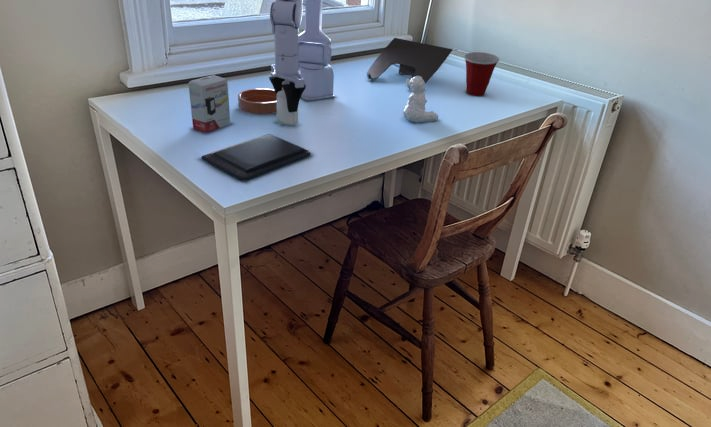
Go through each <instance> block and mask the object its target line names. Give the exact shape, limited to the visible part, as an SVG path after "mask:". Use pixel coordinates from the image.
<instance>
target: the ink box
mask: <svg viewBox="0 0 711 427" xmlns="http://www.w3.org/2000/svg"><path fill="white" fill-rule="evenodd" d="M228 83H229V81H228V79H227V78H225V77H221V76H219V75H218V76H217V75H215V74H213V75H208V76H204V77H200V78H197V79H192V80H190V81H189V82H188V93H189V102H190V111H191V120H192V122H191V123H192V129H193V130H196V131H199V132H202V133H206V134H208V133H210V132H214V131H216V130H218V129H221V128H224V127H226V126H229V125H231V113H230V112H231V110H230V98H229V96H230V95H229V84H228Z"/></svg>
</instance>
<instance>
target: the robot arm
mask: <svg viewBox="0 0 711 427" xmlns="http://www.w3.org/2000/svg"><path fill="white" fill-rule="evenodd" d="M303 3H304V5H305V7H304V6H303ZM304 8H305V9H304ZM303 11H304V31H303V32H301V33H299V32H300V30H299V28H300V27H301V25H302V20H303ZM269 19H270V24H271V31H272V35H274V36H273V37H274V39H273V40H274V64H271V65H270V71H271V72H270V76H269V77H268V80H269V81H270V83H271V85H272V87H273V90H275V94H276V95H277V93H278V92H279V91H281V90H282V87H283V90H284V92H285V95H286V100H287V108H288V111H289V112H297V109H298V110H299V105H300V101H301V98H302V99H303V100H305V101H309V102H310V101H315V100H323V99H331V98H335V95H334V82H335V81H334V80H335V74H334V70H333V68H332V66H331V65H330V64H331V60H332V41H331V38H330V37H329V36H328V35H327V34H326V33H325V32H324V31H323V29H322V28H323V0H305V2H304V0H275V1H273V2H272V3H271V5H270V8H269ZM299 67H300V68H299ZM299 69H300V71H299ZM285 79H286V80H287V81H289V82H290V84H284V85H282V82H283V81H285Z"/></svg>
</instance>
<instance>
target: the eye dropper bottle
mask: <svg viewBox="0 0 711 427" xmlns="http://www.w3.org/2000/svg"><path fill="white" fill-rule="evenodd" d="M284 84H290V82H289V81H287V80H286V79H285V81H283V82H282V85H284ZM276 101H277V113H276V121H277V123H279V124H282V125H284V126H295V125H298V123H299V108H298V109H297V112H289V111H288V108H287V100H286V95H285V92H284V90H283V87H282V90H281V91H279V92H278V93H277V95H276Z"/></svg>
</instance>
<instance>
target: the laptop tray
mask: <svg viewBox="0 0 711 427" xmlns="http://www.w3.org/2000/svg"><path fill="white" fill-rule="evenodd" d="M453 51H454V49H453V48H448V47H445V46H444V47H443V46H438V45H432V44H428V43H424V42H418V41H412V40H408V39H404V38H398V37H393V39H392V40H391V41H390V42H389V43H388V44H387V46H386V47H385V48H384V49H383V50H382V51H381V53H380V54H379V55H378V56H377V57H376V59H375V60H374V61H373V63H372V64H371V65H370V67H369V69H368V70H367V72H366V76H367V78H368V81H370V82H372V81H373V80H377V79H378V78H379V77H381V76H382V75H383V74H384V73H385V72H386V71H387V70H388V69H389V68H390V67H391V66H393V65H399V67H398V74H399V75H400V76H410V80H411V79H412V78H413V77H416V76H421V77H422V79H423V80H424V82H425V84H426V83H427V82H429V80H430V79H431V78H432V77H433V76H434V75H435V74H436V73H437V71H438V70H439V69H440V68H441V67H442V65H443V64H444V63H445V61H446V60H447V58H449V56H450V55H451V53H452V52H453ZM408 86H409V85H408V84H407V88H408V89H409V91H410V92H412V91H411V89H410V88H409V87H408Z"/></svg>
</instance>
